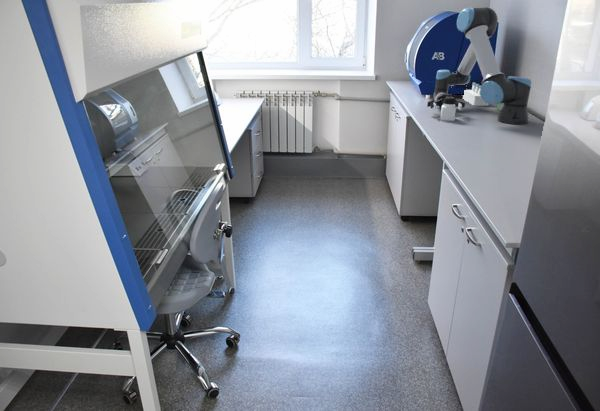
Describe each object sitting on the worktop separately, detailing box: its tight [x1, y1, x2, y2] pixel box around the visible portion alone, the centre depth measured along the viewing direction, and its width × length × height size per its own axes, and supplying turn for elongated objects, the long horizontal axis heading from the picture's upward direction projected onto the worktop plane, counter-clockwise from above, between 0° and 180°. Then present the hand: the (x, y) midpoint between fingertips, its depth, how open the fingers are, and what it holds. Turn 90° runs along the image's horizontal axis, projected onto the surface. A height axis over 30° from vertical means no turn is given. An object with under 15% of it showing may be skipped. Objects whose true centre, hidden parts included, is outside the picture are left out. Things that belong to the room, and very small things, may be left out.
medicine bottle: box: [440, 96, 457, 122], centre depth 264 cm, size 7×7×12 cm
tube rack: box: [462, 82, 490, 107], centre depth 307 cm, size 22×9×11 cm, turn 1°
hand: (448, 107), depth 264 cm, fingers open, 13 cm apart
